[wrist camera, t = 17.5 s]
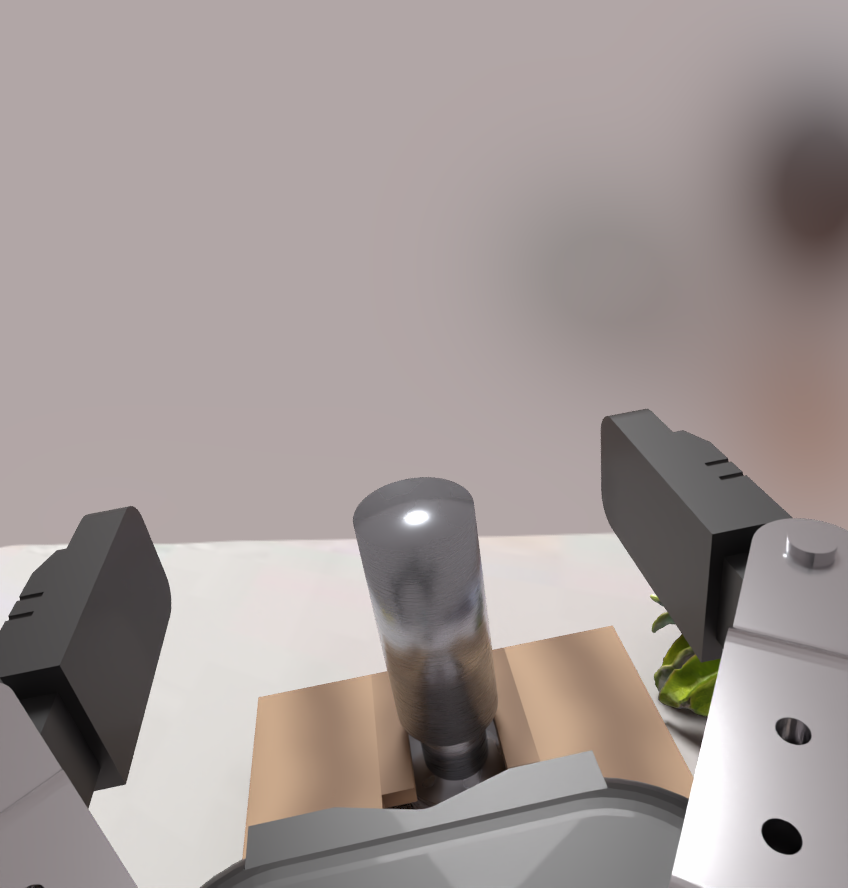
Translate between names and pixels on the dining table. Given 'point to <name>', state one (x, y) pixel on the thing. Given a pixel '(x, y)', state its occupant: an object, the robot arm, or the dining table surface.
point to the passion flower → (684, 673)
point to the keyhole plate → (516, 721)
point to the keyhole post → (433, 629)
